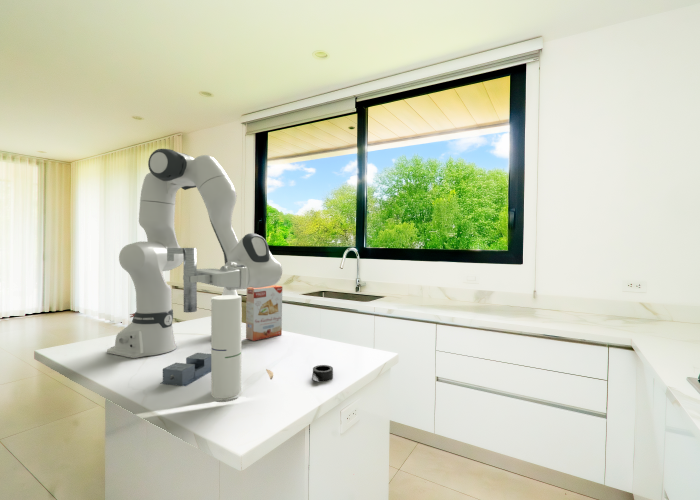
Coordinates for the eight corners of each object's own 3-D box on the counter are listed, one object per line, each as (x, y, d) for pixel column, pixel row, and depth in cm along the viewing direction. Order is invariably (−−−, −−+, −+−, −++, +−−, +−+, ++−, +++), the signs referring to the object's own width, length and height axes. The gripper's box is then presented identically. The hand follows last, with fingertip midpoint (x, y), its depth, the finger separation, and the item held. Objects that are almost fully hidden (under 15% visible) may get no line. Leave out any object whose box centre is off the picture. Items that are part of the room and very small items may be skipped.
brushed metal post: (197, 309, 101) (196, 247, 101) (196, 312, 98) (196, 248, 97) (168, 311, 98) (168, 247, 98) (167, 313, 95) (166, 248, 95)
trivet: (225, 382, 96) (225, 380, 96) (245, 369, 107) (245, 367, 107) (262, 386, 94) (262, 384, 94) (279, 372, 104) (279, 370, 104)
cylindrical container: (216, 390, 91) (216, 295, 91) (244, 389, 92) (244, 295, 91) (207, 402, 84) (207, 299, 84) (237, 401, 85) (237, 299, 84)
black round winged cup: (300, 378, 101) (301, 368, 100) (329, 370, 107) (329, 361, 107) (315, 387, 94) (315, 376, 94) (344, 378, 101) (344, 368, 101)
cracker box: (253, 341, 137) (253, 288, 136) (245, 338, 141) (245, 287, 140) (282, 335, 147) (282, 285, 147) (274, 332, 151) (274, 284, 151)
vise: (185, 390, 91) (185, 371, 91) (159, 387, 93) (159, 368, 93) (217, 370, 105) (217, 354, 105) (194, 368, 107) (194, 352, 107)
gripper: (219, 263, 115) (174, 265, 105) (249, 267, 100) (200, 269, 91) (219, 282, 115) (174, 286, 106) (249, 289, 100) (200, 293, 91)
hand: (186, 278), depth 98 cm, fingers closed on brushed metal post, 3 cm apart
